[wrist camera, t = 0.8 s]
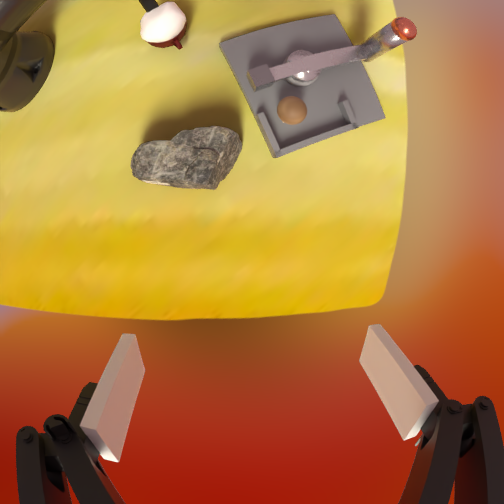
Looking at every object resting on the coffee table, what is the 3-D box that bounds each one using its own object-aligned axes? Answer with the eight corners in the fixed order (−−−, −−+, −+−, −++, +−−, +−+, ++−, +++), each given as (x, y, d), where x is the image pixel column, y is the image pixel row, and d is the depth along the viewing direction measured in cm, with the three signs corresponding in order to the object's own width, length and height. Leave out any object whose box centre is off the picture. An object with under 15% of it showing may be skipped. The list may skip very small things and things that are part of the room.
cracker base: (219, 47, 30) (218, 38, 27) (331, 18, 29) (338, 9, 26) (272, 157, 36) (277, 157, 33) (380, 119, 35) (392, 116, 31)
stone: (173, 199, 40) (124, 203, 31) (168, 153, 39) (120, 148, 30) (257, 184, 35) (219, 182, 26) (251, 131, 34) (211, 113, 25)
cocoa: (192, 53, 30) (184, 17, 19) (149, 63, 30) (124, 34, 19) (184, 4, 27) (175, -38, 16) (143, 14, 26) (121, -23, 15)
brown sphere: (269, 104, 31) (274, 99, 27) (295, 95, 30) (303, 89, 27) (281, 130, 32) (287, 127, 28) (307, 120, 32) (315, 117, 28)
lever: (242, 70, 28) (249, 30, 17) (365, 39, 27) (410, 8, 16) (257, 99, 30) (271, 70, 19) (379, 65, 29) (428, 41, 18)
